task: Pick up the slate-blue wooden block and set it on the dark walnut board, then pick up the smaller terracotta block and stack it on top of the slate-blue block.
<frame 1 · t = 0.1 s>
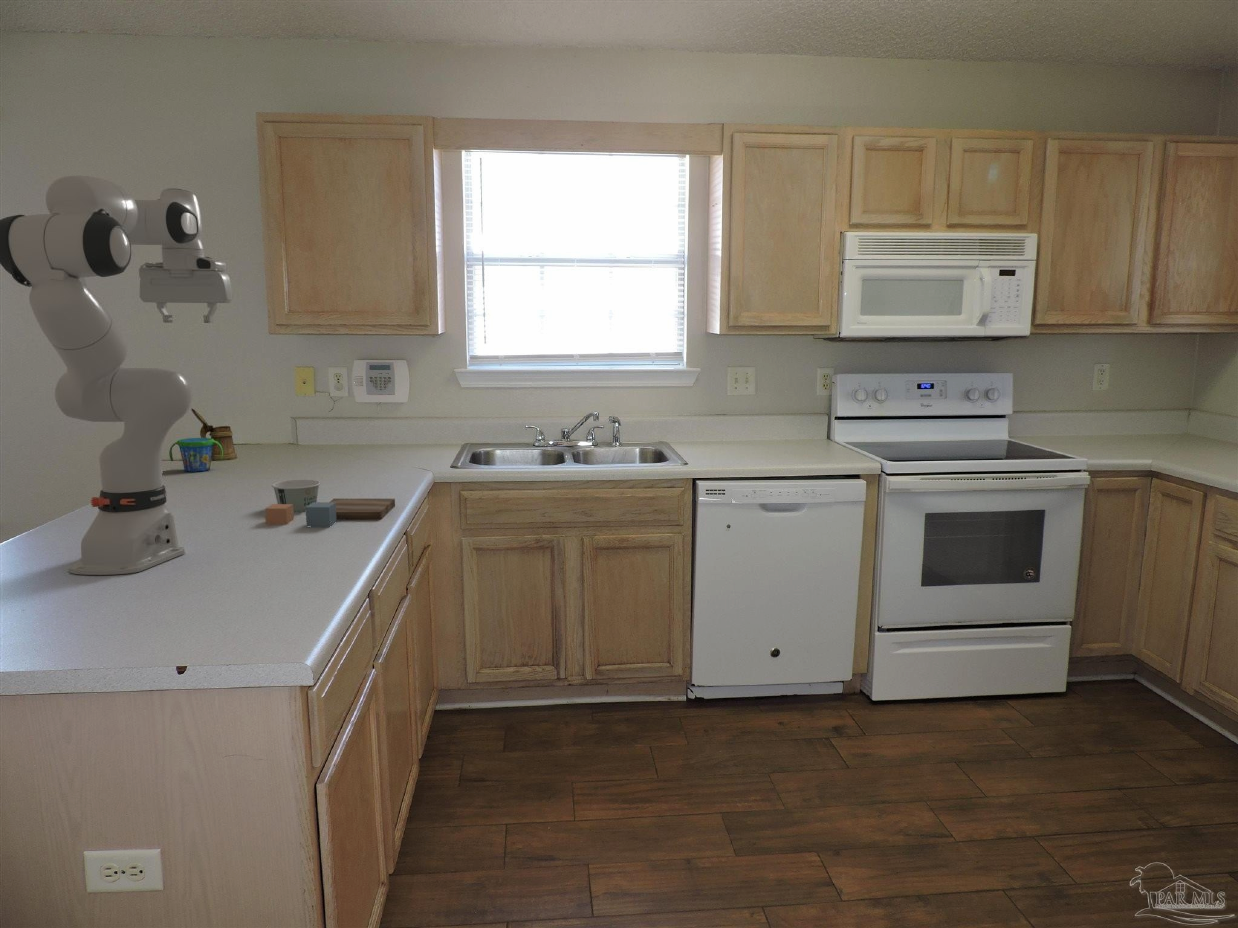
hand: (188, 322, 205), 48 cm above the worktop, tool pointing down, fingers open, 8 cm apart
food container: (297, 508, 229), on the worktop
wooden mug: (216, 459, 306), on the worktop
walnut board: (356, 512, 224), on the worktop
terracotta block: (280, 522, 213), on the worktop
slate block: (321, 524, 211), on the worktop
snack cup: (197, 471, 283), on the worktop
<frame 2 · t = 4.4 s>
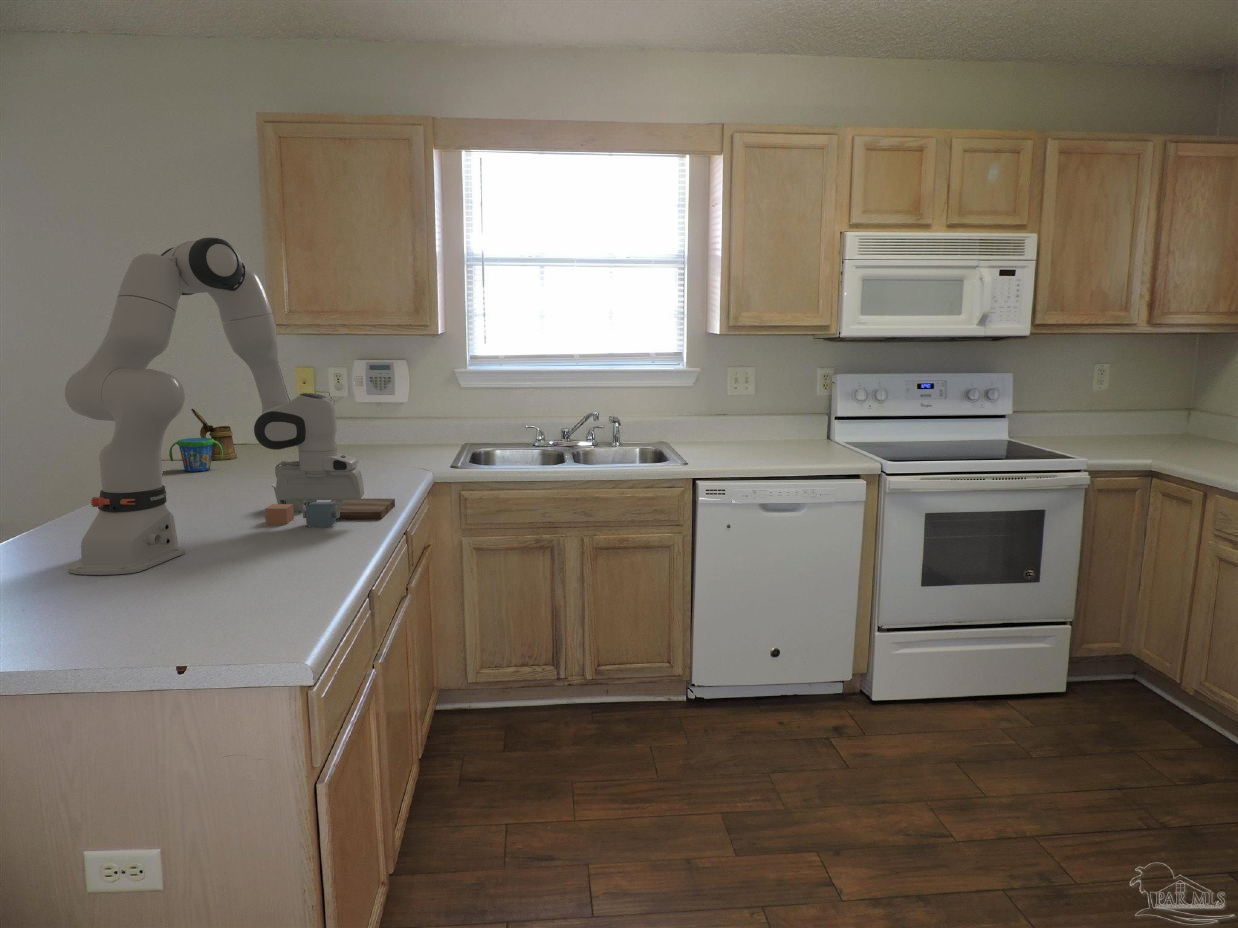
hand: (321, 517, 211), 2 cm above the worktop, tool pointing down, fingers closed on slate block, 5 cm apart
slate block: (321, 524, 211), on the worktop, touching gripper
everything else where it was.
when the fingers open (5 cm above the worktop, at t = 9.9 s): slate block drops 1 cm, resting on walnut board.
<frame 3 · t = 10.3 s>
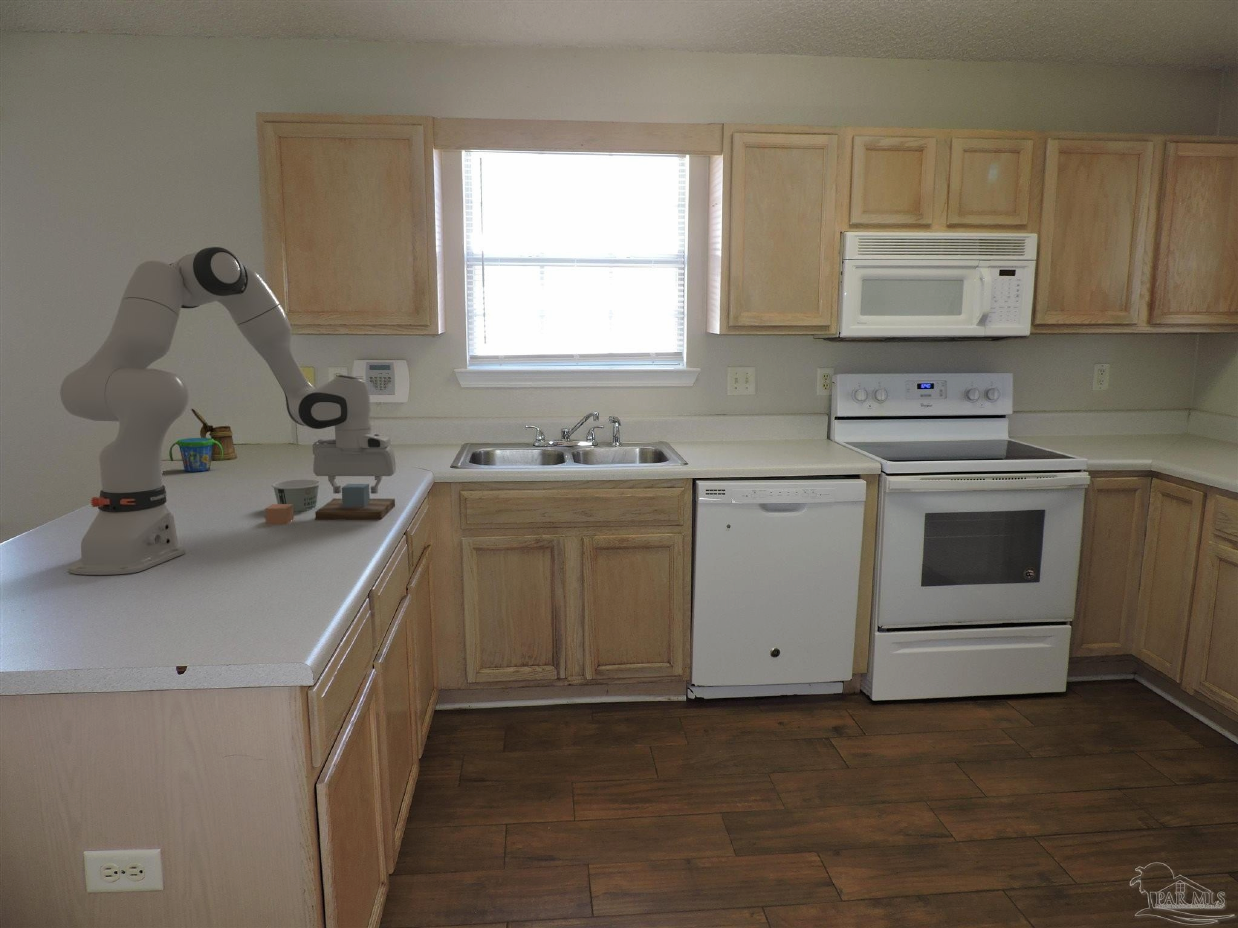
hand: (355, 493, 223), 5 cm above the worktop, tool pointing down, fingers open, 8 cm apart
slate block: (356, 504, 223), point 2 cm above the worktop, touching walnut board
everything else where it was.
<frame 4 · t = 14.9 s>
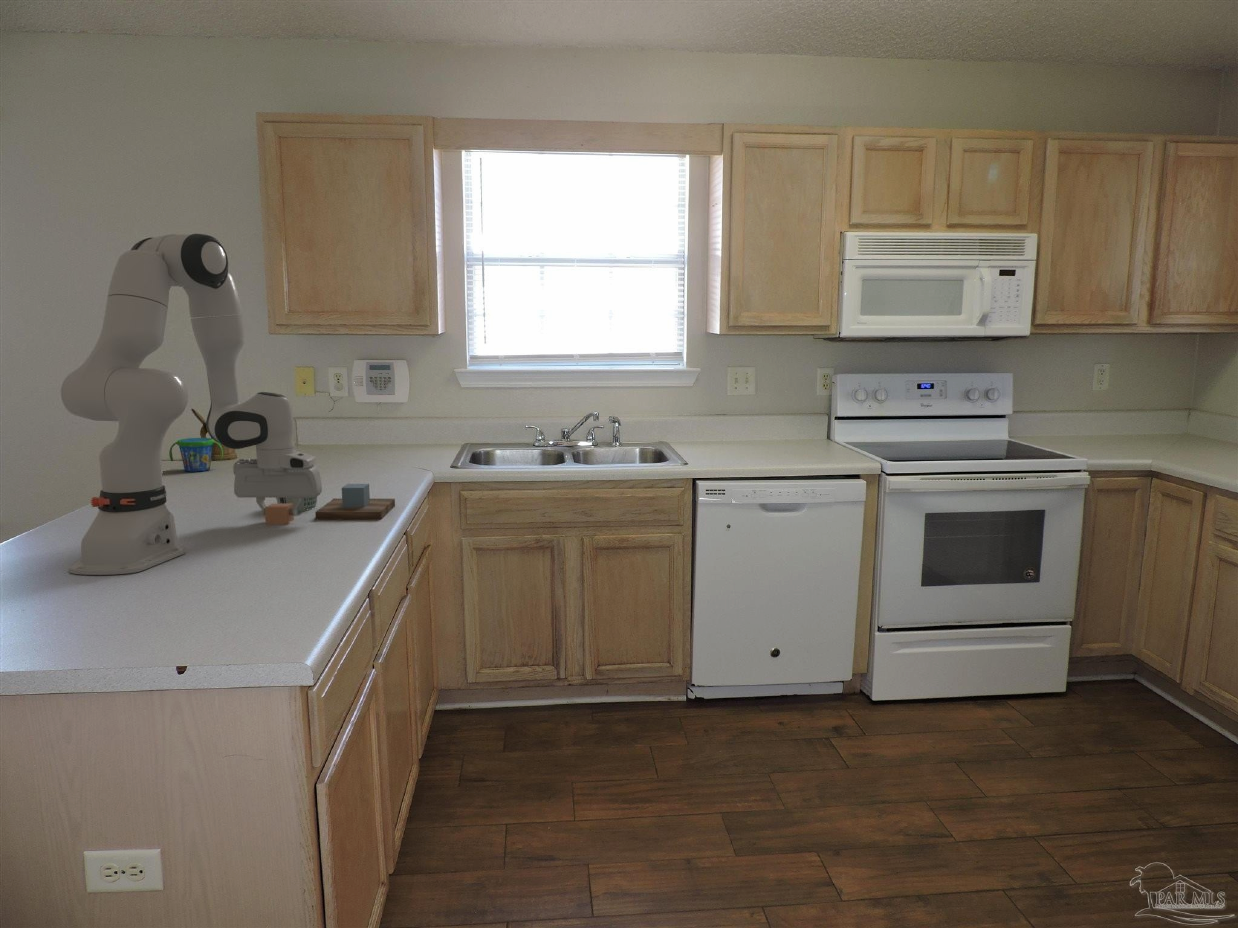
hand: (279, 515, 213), 2 cm above the worktop, tool pointing down, fingers closed on terracotta block, 5 cm apart
terracotta block: (280, 521, 213), on the worktop, touching gripper
everything else where it was.
when the fingers open (10 cm above the worktop, at t = 19.5 s): terracotta block drops 1 cm, resting on slate block.
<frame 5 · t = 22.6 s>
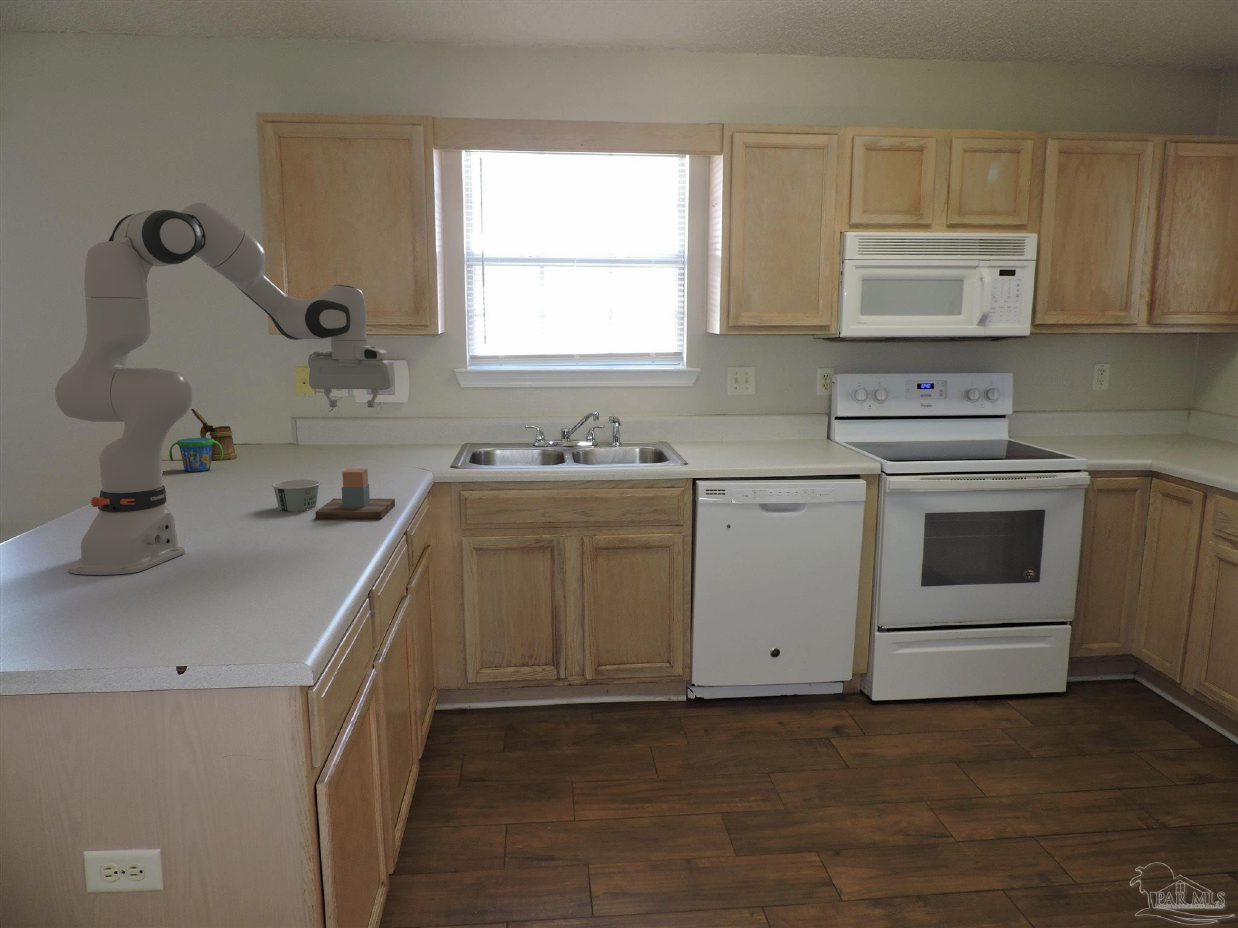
hand: (352, 407, 219), 27 cm above the worktop, tool pointing down, fingers open, 8 cm apart
terracotta block: (355, 485, 223), point 7 cm above the worktop, touching slate block
slate block: (356, 504, 223), point 2 cm above the worktop, touching terracotta block, walnut board
everything else where it was.
at the end: slate block 0.0 cm off-centre on the walnut board, point 2.0 cm above the walnut board's base; terracotta block 0.0 cm off-centre on the slate block, point 5.0 cm above the slate block's base; terracotta block tilted 0° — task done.
